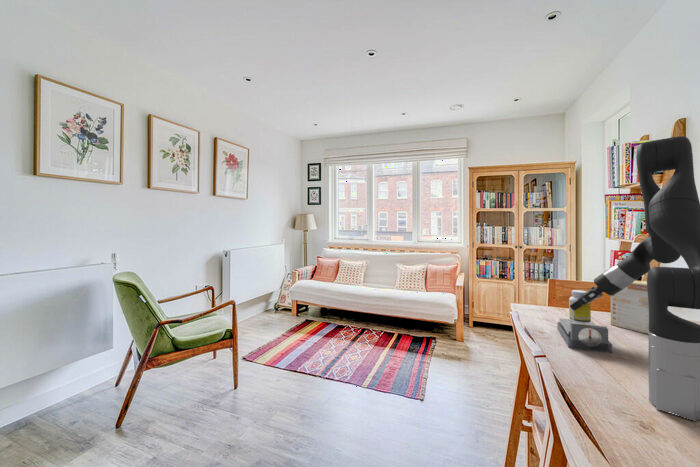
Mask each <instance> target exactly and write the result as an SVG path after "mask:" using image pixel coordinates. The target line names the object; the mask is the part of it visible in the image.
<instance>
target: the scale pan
mask: <svg viewBox="0 0 700 467" xmlns="http://www.w3.org/2000/svg"><path fill="white" fill-rule="evenodd" d="M558 322H560V323H561V325H562V326H563V328H564V329H565V331H566V332H567V334H568V335H570V323H571V324H582V325H592V326H597V325H596V324H595V323H594V322H593V320H591V322H590V323H577V322H573V321H571V320H570V318H569V319H568V318H561V317H560V318H558Z"/></svg>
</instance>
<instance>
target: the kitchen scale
mask: <svg viewBox="0 0 700 467" xmlns="http://www.w3.org/2000/svg"><path fill="white" fill-rule="evenodd" d="M556 330H557V331H558V332H559V334H560V337H562V339H563V341H564V342H565V344H566V346H567V347H568V348H570V349H577V350H586V351H593V352H601V353H608V354H609V353H611V354H613V344H612V343H611V341H610V340H609V329H608V327H607V326H601V325H600V326H599V325H596V326H592V325H582V324H571V323H570V335H568V334H567V332H566V331H565V329H564V328H563V326H562V325H561V323H560V322H559V321H557V328H556Z"/></svg>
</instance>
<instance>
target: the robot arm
mask: <svg viewBox="0 0 700 467" xmlns="http://www.w3.org/2000/svg"><path fill="white" fill-rule="evenodd" d="M635 157H636V158H635V161H636V169H637V175H638V182H639V186H640V191H641V196H642V200H643V204H644V205H643V206H644V220H645V221H644V224H645V225H644V226H645V230H646V232H647V233H648V235H649V236H648V237H646V238H645V239H643V240H642V241H640V242H639V243H638V244H637V246H636V247H635V248H634V249H633V250H632V251H631V253H629V255H628V256H627V257H626V258H624V259H622V260H621V261H620V262H618V263H617V264H615V265H614V266H611V267H609V268H608V269H607V270H605V271H603V272H602V273H601V274H600V275H598V276H597V277H595V278H594V279H593V282H594V284H595V285H596V287H595V286H592V287H591V288H589V289H588V290H587V291H586V293H585V294H583V295H582V297H581V298H580V299H578V301H576V302H575V303H573V304H572V305H570V307H571V308H572V309H573V310H574V311H575V310H577V309H578V308H580V307H581V306H583V305H586V304H587V303H588V302H589V303H590V304H591V303H592V302H594V301H595V300H597V299H600V298H601V297H602V296H603V295H604V294H603V293H605V294H606V295H608V296H610V297H611V296H613V295H615V294H616V293H618V292H620V291H621V290H623V289H624V288H626V287H627V286H629V285H630V284H632V283H633V282H634V281H635V280H637V281H638V280H639V279H640V278H641V277H643V276H645V275H646V274H647V275H646V282H647V291H648V303H649V334H648V401H649V403H652V404H651V405H653V406H654V407H655V406H656V407H655V409H656V410H657V409H659V410H658V411H660V410H662V411H661V412H663V411H666V412H671V413H674V414H677V415H679V416H682V417H685V418H687V419H686V420H688V419H690V420H689V421H691V420H693V422H695V421H700V324H699V323H697V322H693V321H690V320H687V319H685V318H683V317H680V316H678V315H676V314H674V313H672V312H671V311H670V310H669V309H668V308H669V307H672V308H682V309H689V310H690V309H691V310H700V199H699V194H698V190H697V185H696V181H695V172H694V171H695V170H694V169H695V168H694V156H693V146H692V143H691V141H690V139H689V138H688V137H687V136H683V135H682V136H681V135H680V136H671V137H665V138H661V139H656V140H650V141H645V142H642V143H640V144H639V145H638V146H637V148H636V155H635ZM673 170H674V171H673ZM666 171H673V174H672V176H671V177H670V179H668V181H667V182H666V183H665V184H664V185H663V186H662V187H661V188H660V186H658V184H657V183H656V181H655V178H654V177H653V173H657V172H666ZM680 257H681V258H682V259H683V260H684V262H685V264H686V265H687V267H671V266H653V267H651V264H650V263H651V262H652V261H653V260H654V261H655V262H658V263H660V264H672V263H674V262H677V260H679V259H680ZM583 298H585V299H586V300H587V302H584V301H583V300H582V299H583ZM666 412H665V413H666ZM679 416H678V417H679ZM682 417H681V418H682ZM685 418H684V419H685Z"/></svg>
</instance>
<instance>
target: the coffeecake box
mask: <svg viewBox="0 0 700 467" xmlns="http://www.w3.org/2000/svg"><path fill="white" fill-rule="evenodd" d="M610 325H611V326H615V327H620V328H623V329H627V330H631V331H636V332H639V333H643V334H647V335H649V303H648V291H647V281H646V280H645V281H643V280H638V279H637V280H635V281H634V282H633V283H632V284H630V285H629V286H627V287H626V288H624V289H623V290H621V291H620V292H618V293H616V294H615V295H613V296H610Z"/></svg>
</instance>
